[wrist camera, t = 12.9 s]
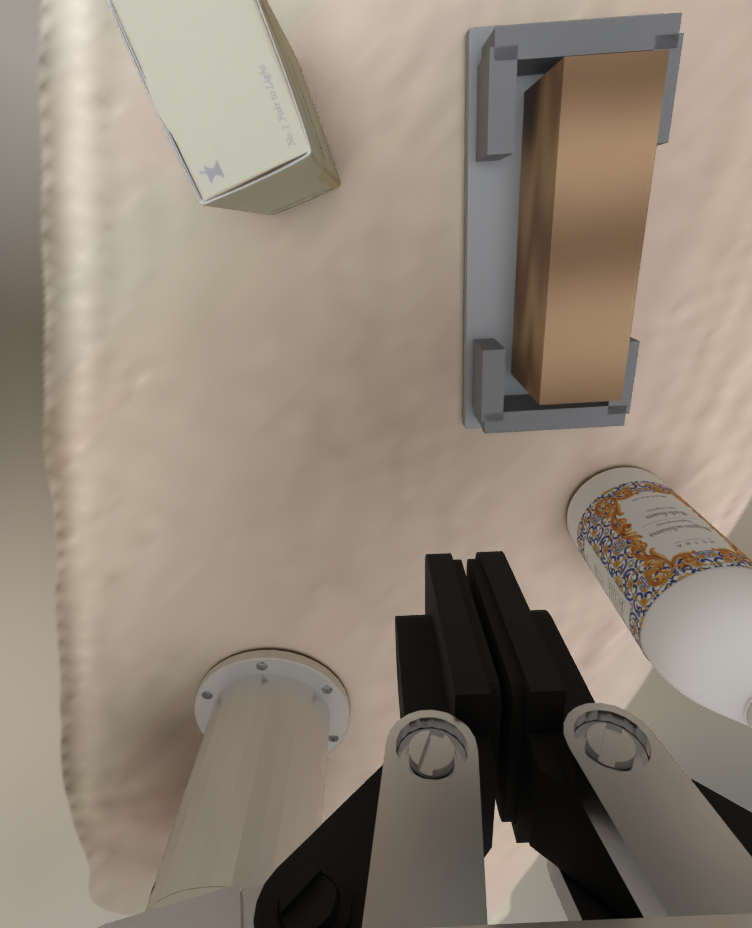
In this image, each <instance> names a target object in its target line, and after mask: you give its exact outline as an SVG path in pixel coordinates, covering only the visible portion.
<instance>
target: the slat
mask: <svg viewBox="0 0 752 928" xmlns="http://www.w3.org/2000/svg"><path fill="white" fill-rule="evenodd" d="M669 51H670V49H668V50H653V51H639V52H625V53H611V54H597V55H583V56H568V57H564V58H563V59H561V60H560V61H559V62H558V63H557V64H556V65H555V66H553V67H552V68H551V69H550V70H549V71H548V72H547V73H546V74H544V75H543V76H542V77H541V78H540V79H539V80H538V81H536V82H535V83H534V84H533V85H532V86H531V87H530V88H528V89H527V90H526V91H525V92H524V108H523V129H522V150H521V171H520V193H519V214H518V235H517V256H516V277H515V299H514V320H513V341H512V362H511V374H512V375H513V376H514V378H515V379H516V380H517V381H518V382H519V383H520V384H521V385H522V386H523V387H524V389H525V390H526V391H527V392H528V393H529V394H530V395H531V396H532V397H533V398H534V399H535V401H536V402H537V403H538V404H539V405H548V404H566V403H584V402H601V401H619V400H622V393H623V385H624V378H625V371H626V363H627V356H628V349H629V342H630V334H631V327H632V320H633V313H634V305H635V298H636V291H637V284H638V276H639V269H640V262H641V254H642V247H643V240H644V233H645V225H646V218H647V211H648V204H649V196H650V189H651V182H652V174H653V167H654V160H655V153H656V145H657V138H658V131H659V124H660V116H661V109H662V102H663V95H664V87H665V80H666V73H667V65H668V58H669Z"/></svg>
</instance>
